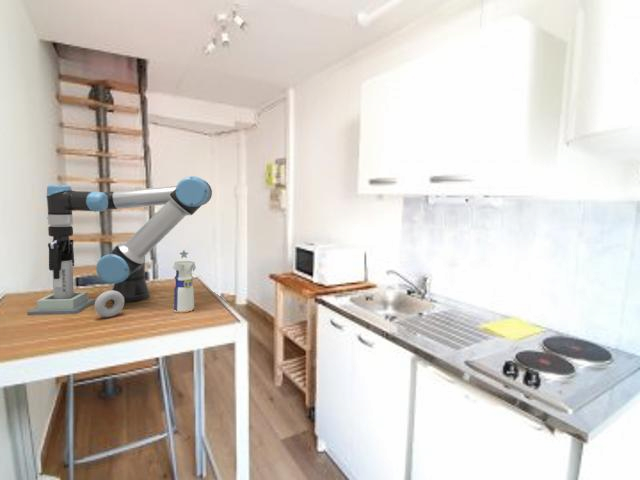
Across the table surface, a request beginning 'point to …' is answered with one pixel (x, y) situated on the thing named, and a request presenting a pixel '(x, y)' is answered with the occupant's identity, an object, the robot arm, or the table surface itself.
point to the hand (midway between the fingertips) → (63, 284)
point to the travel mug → (65, 279)
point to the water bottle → (184, 284)
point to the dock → (61, 305)
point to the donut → (104, 298)
